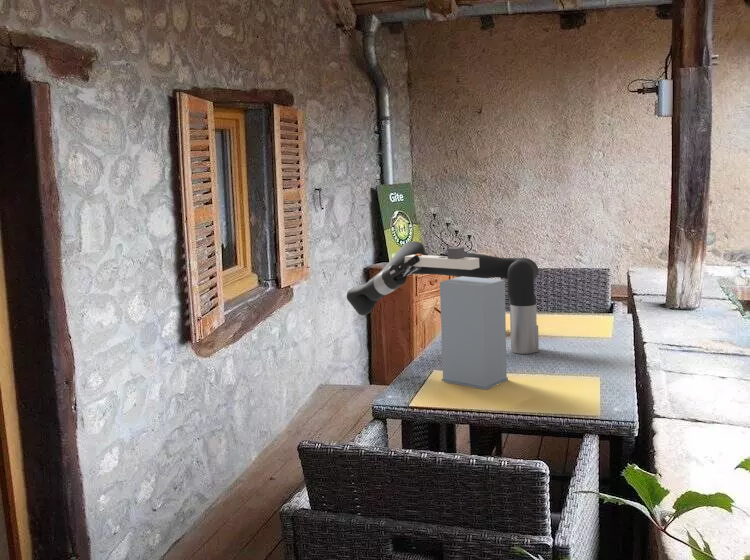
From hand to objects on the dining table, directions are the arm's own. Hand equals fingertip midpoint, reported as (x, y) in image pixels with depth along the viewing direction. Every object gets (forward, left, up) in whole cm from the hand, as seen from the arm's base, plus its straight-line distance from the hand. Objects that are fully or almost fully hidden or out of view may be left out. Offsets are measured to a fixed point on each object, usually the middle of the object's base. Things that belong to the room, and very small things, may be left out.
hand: (422, 256), depth 249 cm
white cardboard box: (-5, +5, -3) cm, 8 cm away
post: (-14, +12, -39) cm, 43 cm away
